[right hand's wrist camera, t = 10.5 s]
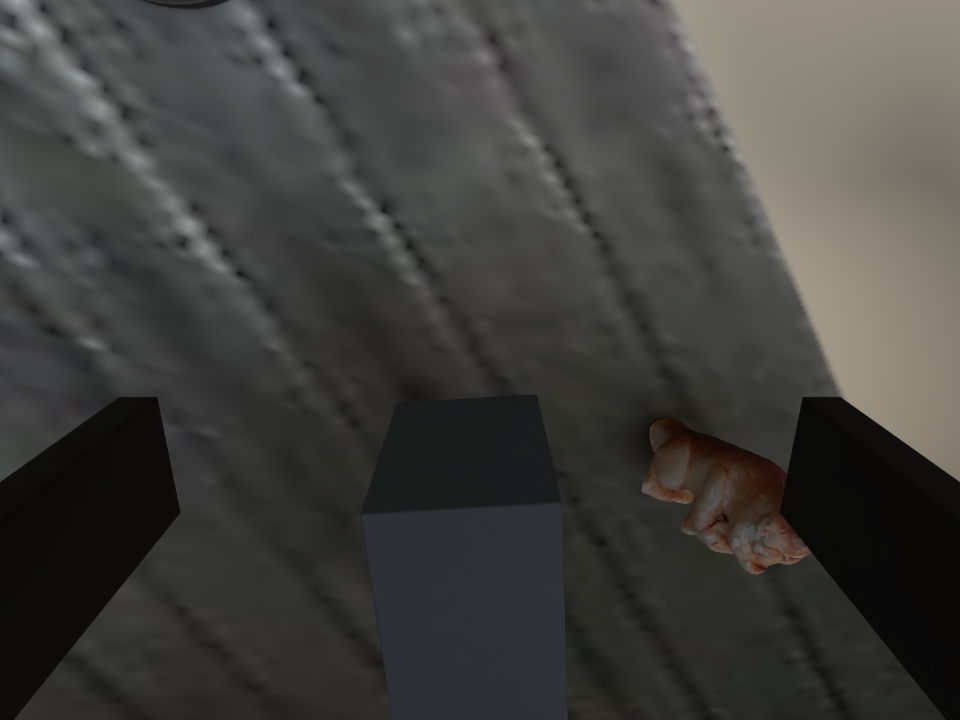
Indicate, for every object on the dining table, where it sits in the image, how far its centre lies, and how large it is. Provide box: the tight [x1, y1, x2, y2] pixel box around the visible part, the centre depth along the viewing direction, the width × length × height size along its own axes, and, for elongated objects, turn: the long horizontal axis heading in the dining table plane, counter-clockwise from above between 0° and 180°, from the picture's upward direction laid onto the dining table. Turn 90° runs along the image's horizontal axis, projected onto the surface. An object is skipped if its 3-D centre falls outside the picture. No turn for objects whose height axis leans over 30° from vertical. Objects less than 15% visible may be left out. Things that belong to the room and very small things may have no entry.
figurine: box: [641, 418, 812, 574], centre depth 38 cm, size 6×8×15 cm
